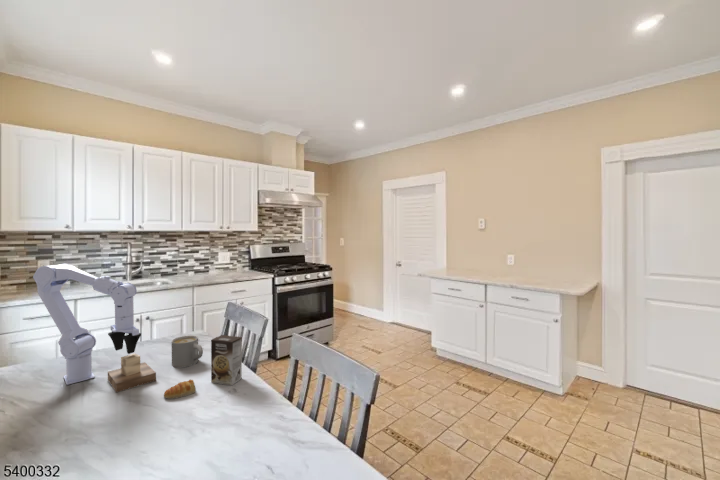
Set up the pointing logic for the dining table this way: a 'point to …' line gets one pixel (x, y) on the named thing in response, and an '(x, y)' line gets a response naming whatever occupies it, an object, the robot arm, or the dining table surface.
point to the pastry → (180, 390)
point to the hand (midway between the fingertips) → (124, 351)
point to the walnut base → (131, 378)
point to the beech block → (130, 364)
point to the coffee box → (226, 359)
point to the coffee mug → (185, 351)
